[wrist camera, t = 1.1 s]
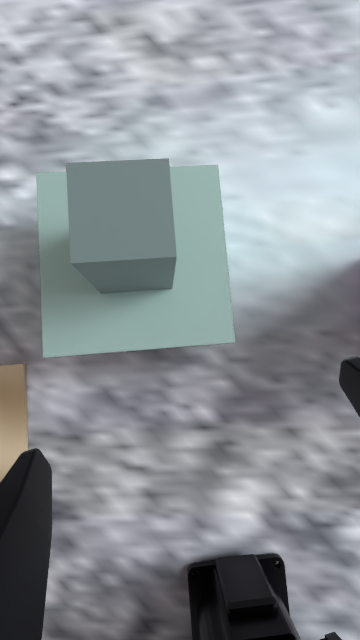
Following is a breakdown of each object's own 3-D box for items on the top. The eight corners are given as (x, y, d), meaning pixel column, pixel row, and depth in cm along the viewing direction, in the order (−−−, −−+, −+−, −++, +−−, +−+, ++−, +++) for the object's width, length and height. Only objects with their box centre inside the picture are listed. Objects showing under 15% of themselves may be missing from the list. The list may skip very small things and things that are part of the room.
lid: (226, 343, 21) (270, 336, 12) (57, 357, 20) (-19, 359, 12) (211, 186, 22) (242, 79, 13) (51, 194, 21) (-24, 87, 13)
